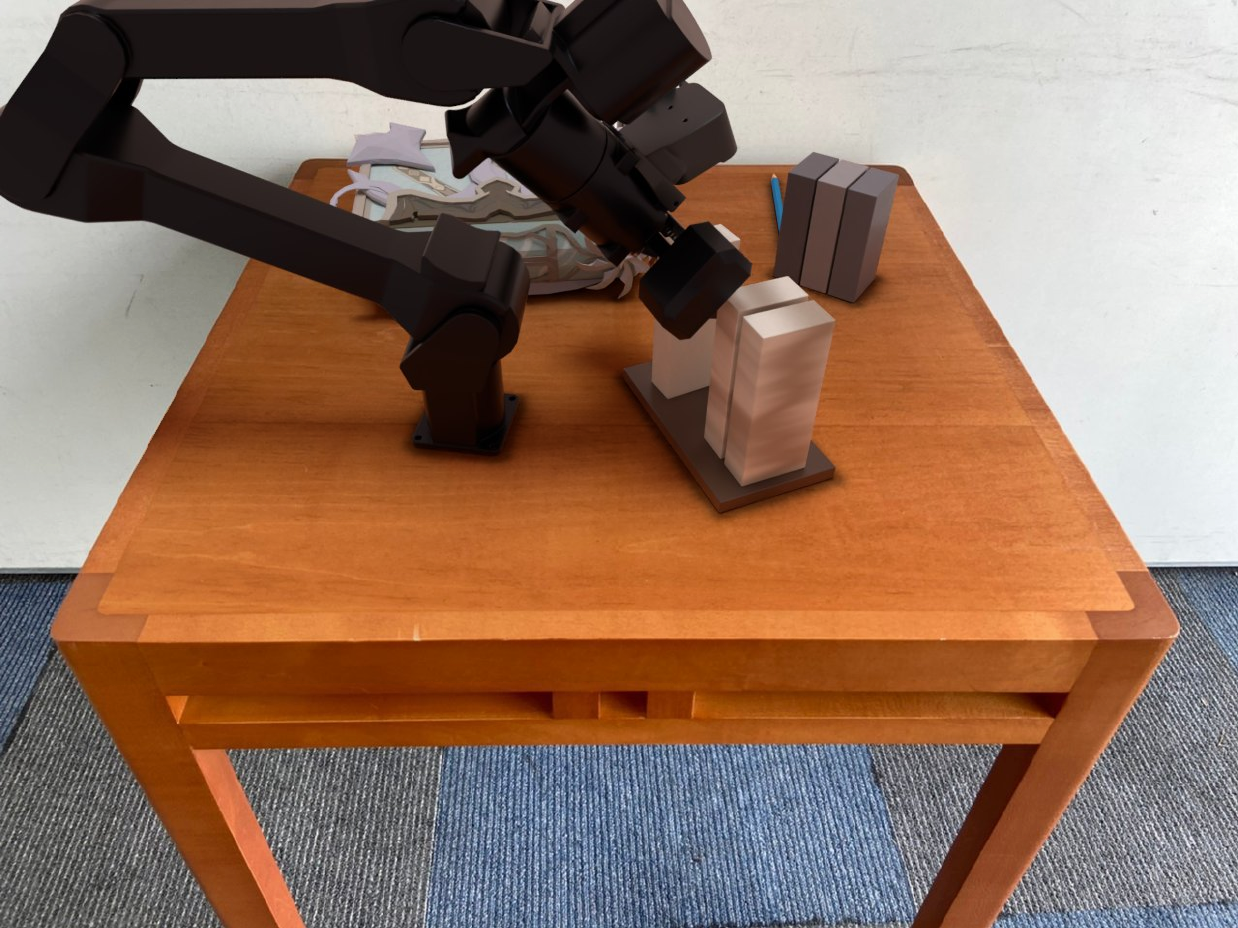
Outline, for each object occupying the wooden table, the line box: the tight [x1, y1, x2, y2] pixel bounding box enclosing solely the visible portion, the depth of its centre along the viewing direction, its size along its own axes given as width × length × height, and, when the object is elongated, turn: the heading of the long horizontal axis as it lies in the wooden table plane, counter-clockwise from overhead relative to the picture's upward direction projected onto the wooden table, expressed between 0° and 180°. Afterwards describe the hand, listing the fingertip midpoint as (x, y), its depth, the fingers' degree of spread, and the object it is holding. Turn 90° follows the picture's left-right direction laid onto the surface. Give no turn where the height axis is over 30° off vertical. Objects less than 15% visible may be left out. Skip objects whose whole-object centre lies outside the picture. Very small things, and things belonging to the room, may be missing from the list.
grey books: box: [772, 151, 900, 304], centre depth 79 cm, size 5×8×10 cm, turn 56°
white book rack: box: [622, 276, 837, 514], centre depth 62 cm, size 9×16×13 cm, turn 23°
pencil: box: [770, 173, 784, 233], centre depth 91 cm, size 1×17×1 cm, turn 177°
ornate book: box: [329, 122, 653, 299], centre depth 83 cm, size 23×10×30 cm
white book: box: [652, 223, 741, 399], centre depth 65 cm, size 5×2×12 cm, turn 118°
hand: (711, 285), depth 65 cm, fingers open, 7 cm apart
